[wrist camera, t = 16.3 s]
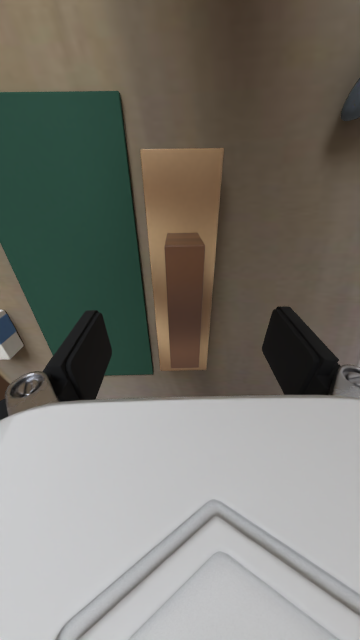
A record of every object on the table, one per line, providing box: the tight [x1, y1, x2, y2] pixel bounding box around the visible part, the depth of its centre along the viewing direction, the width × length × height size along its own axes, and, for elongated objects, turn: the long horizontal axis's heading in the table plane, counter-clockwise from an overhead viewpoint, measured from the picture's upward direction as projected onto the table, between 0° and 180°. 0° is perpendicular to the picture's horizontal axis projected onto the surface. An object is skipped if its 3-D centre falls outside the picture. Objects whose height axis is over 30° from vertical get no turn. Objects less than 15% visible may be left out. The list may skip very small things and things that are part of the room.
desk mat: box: [0, 91, 153, 375], centre depth 20 cm, size 26×12×1 cm, turn 1°
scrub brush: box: [140, 148, 224, 371], centre depth 17 cm, size 20×5×7 cm, turn 1°
